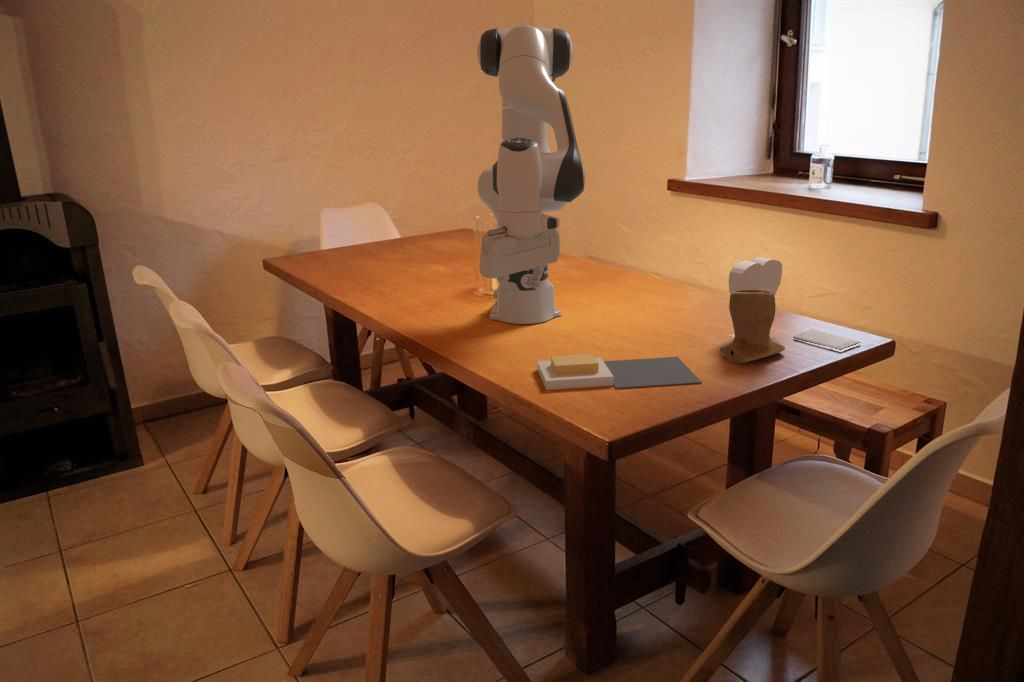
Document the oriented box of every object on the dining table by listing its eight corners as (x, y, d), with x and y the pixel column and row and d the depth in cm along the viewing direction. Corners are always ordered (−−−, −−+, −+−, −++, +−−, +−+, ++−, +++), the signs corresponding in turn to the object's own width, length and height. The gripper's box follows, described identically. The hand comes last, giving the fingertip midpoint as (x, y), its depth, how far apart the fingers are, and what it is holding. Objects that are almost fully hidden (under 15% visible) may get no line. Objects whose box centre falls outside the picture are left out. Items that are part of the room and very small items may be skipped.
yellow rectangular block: (555, 374, 173) (555, 365, 172) (550, 365, 178) (550, 356, 178) (598, 372, 174) (598, 363, 173) (592, 362, 179) (592, 353, 179)
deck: (537, 369, 182) (537, 361, 181) (600, 365, 183) (600, 357, 183) (546, 390, 170) (546, 380, 170) (613, 385, 172) (613, 376, 171)
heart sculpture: (763, 324, 209) (768, 253, 203) (780, 329, 205) (786, 257, 200) (722, 337, 200) (726, 263, 195) (739, 342, 196) (744, 267, 191)
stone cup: (749, 342, 197) (754, 280, 192) (791, 355, 187) (797, 290, 182) (704, 355, 188) (707, 290, 184) (746, 369, 179) (750, 302, 174)
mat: (598, 362, 185) (598, 361, 185) (677, 357, 187) (677, 356, 187) (615, 389, 170) (615, 387, 170) (701, 383, 172) (701, 382, 172)
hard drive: (793, 335, 197) (840, 348, 188) (813, 328, 202) (861, 340, 192) (792, 342, 198) (840, 355, 188) (813, 335, 202) (860, 347, 193)
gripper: (494, 233, 156) (496, 304, 160) (565, 218, 170) (564, 284, 174) (470, 229, 160) (473, 299, 164) (541, 215, 174) (542, 279, 178)
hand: (521, 291), depth 169 cm, fingers open, 7 cm apart
